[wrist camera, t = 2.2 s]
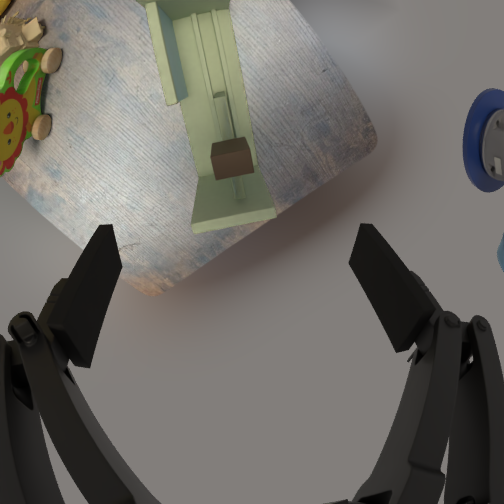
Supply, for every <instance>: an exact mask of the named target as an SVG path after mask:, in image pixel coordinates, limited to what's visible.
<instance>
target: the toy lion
mask: <svg viewBox="0 0 504 504" xmlns="http://www.w3.org/2000/svg"><path fill="white" fill-rule="evenodd" d="M61 59H62V51H61V49H60V48H50V49H48V50H46V49H43V48H29V49H23V50H19V51H16V52H14V53H13V54H11V55H10V56H9V57H8V58H7V59H6V60H5V61H4V62H3V64H2V65H1V67H0V177H1V176H2V175H3V174H4V173H5V172H9V171H10V170H11V169H12V168H13V166H14V164H15V160H16V159H17V158H18V157H19V156H20V154H21V151H22V147H23V143H24V141H25V140H26V139H28V138H30V137H31V136H33V138H34V139H36V140H44V139H45V138H46V137H47V135H48V134H49V131H50V128H51V118H50V116H49V115H41V108H40V99H41V90H42V85H43V81H44V78H45V75H46V73H53V72H55V71H56V70H57V69H58V67H59V65H60V63H61ZM23 61H24V62H23ZM22 62H23V70H24V72H25V74H24V76H23V77H22V79H21V81H20V83H19V86H18V88H17V90H15V88H14V76H15V73H16V70H17V68H18V67H19V65H20V64H21V63H22Z"/></svg>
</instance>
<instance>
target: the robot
mask: <svg viewBox="0 0 504 504" xmlns="http://www.w3.org/2000/svg"><path fill="white" fill-rule="evenodd" d="M18 14H19V12H18V11H17V12H16V13H15V14H14V15H13V17H10V18H9V19H8V21H7V23H6V24H4V22H5V19H6V16H5V17H4V21H3V18H2V21H1V24H0V67H1V65H2V64H3V62H4V61H5V60H6V59H7V58H8V57H9V56H10V55H11V54H13V53H14V52H16V51H19V50H23V49H29V48H38V47H39V44H38V41H39V40H40V38H41V37H42V35H43V29H44V28H45V26H41V24H38V21H37V17H36V18H34V19H33V20H32V21H30V22H29V23H28V24H25V22H28V21H29V20H30V19H31V18H27V20H23V19H19V18H20V17H19V18H15V17H16V16H17V15H18ZM23 62H24V61H23ZM23 62H22V63H23ZM22 63H21V64H22ZM21 64H20V65H21ZM20 65H19V66H20Z"/></svg>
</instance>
